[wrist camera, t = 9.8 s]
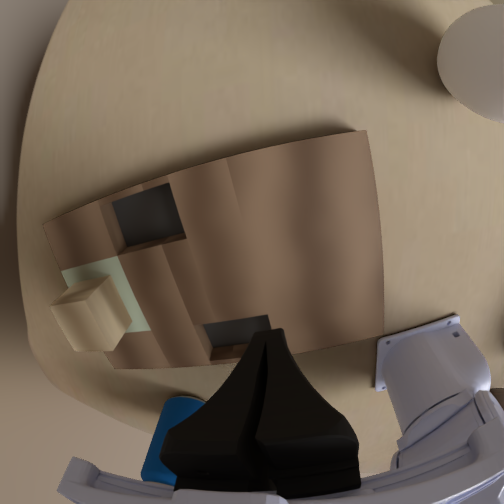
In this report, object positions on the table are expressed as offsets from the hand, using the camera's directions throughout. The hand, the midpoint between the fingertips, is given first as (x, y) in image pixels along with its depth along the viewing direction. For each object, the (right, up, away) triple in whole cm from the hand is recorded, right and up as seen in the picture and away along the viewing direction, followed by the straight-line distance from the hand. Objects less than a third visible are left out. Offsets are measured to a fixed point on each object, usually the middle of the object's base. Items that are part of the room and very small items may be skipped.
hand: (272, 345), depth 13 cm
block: (-14, 0, +9) cm, 16 cm away
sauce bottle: (+15, +18, +2) cm, 24 cm away
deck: (-4, +3, +9) cm, 11 cm away
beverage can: (-8, -14, +17) cm, 23 cm away
